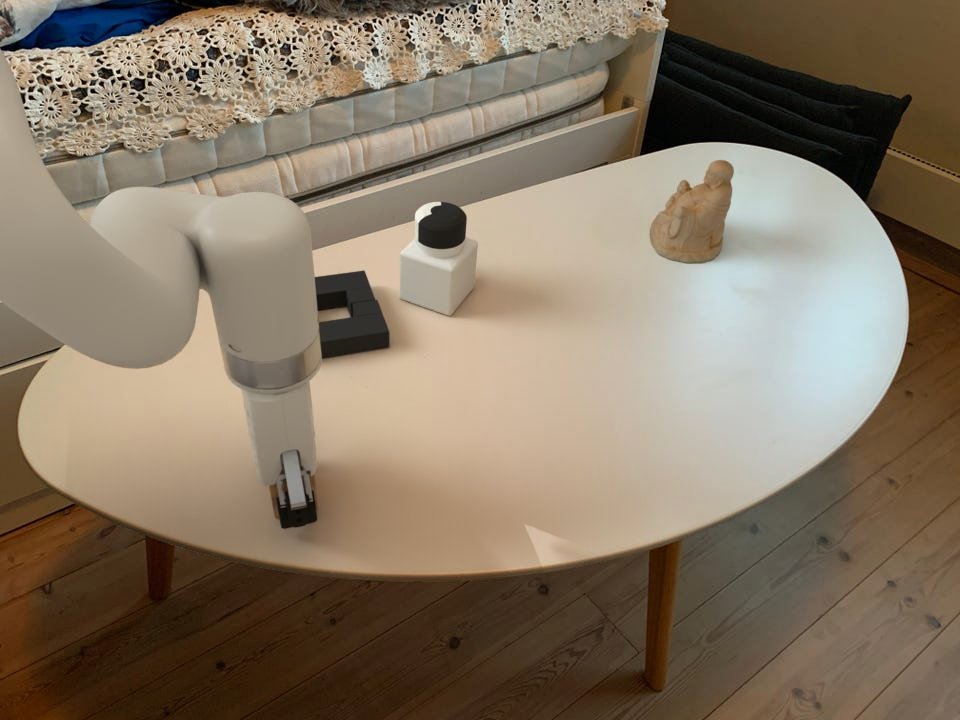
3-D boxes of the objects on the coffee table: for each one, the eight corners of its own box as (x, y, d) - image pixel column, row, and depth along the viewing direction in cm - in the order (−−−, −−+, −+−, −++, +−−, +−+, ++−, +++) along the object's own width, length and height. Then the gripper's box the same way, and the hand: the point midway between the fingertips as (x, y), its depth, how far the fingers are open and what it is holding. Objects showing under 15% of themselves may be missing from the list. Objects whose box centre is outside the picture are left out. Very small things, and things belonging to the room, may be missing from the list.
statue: (774, 204, 99) (705, 173, 98) (713, 284, 109) (649, 257, 107) (761, 160, 109) (698, 131, 107) (705, 237, 118) (646, 212, 116)
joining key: (274, 518, 71) (267, 476, 67) (269, 485, 74) (261, 443, 70) (318, 509, 72) (313, 467, 68) (311, 476, 75) (306, 434, 71)
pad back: (283, 329, 91) (281, 312, 89) (276, 298, 95) (274, 282, 93) (375, 315, 94) (375, 299, 92) (365, 286, 98) (364, 270, 96)
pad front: (293, 363, 87) (291, 346, 85) (285, 329, 91) (283, 313, 89) (389, 347, 90) (389, 331, 88) (377, 315, 94) (377, 299, 92)
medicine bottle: (475, 287, 99) (482, 205, 91) (450, 318, 95) (455, 234, 86) (425, 270, 101) (428, 189, 93) (398, 299, 96) (398, 216, 88)
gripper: (212, 288, 66) (241, 430, 77) (233, 437, 54) (263, 578, 66) (302, 276, 68) (316, 416, 80) (341, 417, 56) (351, 557, 68)
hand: (292, 488), depth 72 cm, fingers open, 7 cm apart
